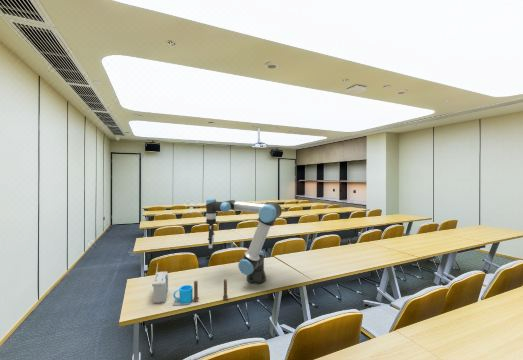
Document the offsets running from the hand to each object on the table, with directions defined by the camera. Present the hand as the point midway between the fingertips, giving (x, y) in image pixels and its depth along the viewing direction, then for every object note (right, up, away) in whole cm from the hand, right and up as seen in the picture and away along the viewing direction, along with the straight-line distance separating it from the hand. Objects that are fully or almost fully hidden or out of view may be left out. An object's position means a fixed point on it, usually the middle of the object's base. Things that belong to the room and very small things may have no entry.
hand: (211, 245), depth 194 cm
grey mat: (-12, -27, -33) cm, 45 cm away
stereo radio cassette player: (-29, -28, -26) cm, 48 cm away
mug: (-12, -27, -33) cm, 44 cm away
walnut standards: (+6, -27, -31) cm, 42 cm away
